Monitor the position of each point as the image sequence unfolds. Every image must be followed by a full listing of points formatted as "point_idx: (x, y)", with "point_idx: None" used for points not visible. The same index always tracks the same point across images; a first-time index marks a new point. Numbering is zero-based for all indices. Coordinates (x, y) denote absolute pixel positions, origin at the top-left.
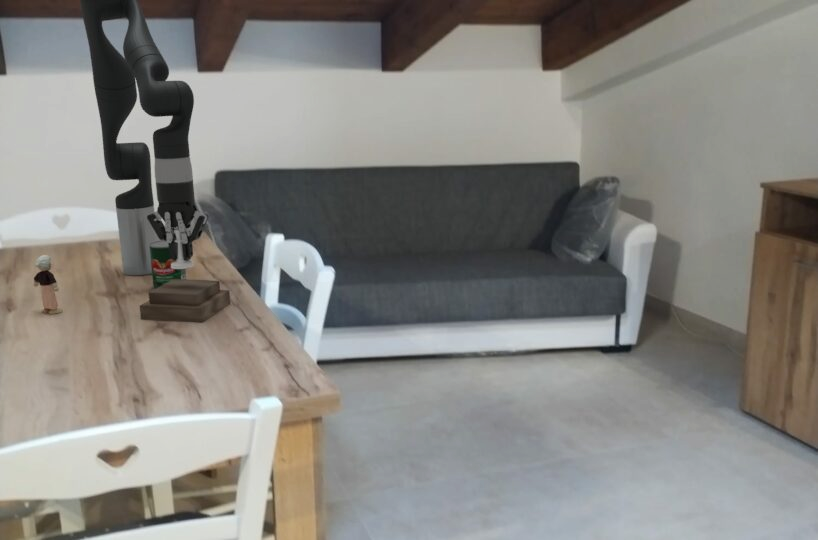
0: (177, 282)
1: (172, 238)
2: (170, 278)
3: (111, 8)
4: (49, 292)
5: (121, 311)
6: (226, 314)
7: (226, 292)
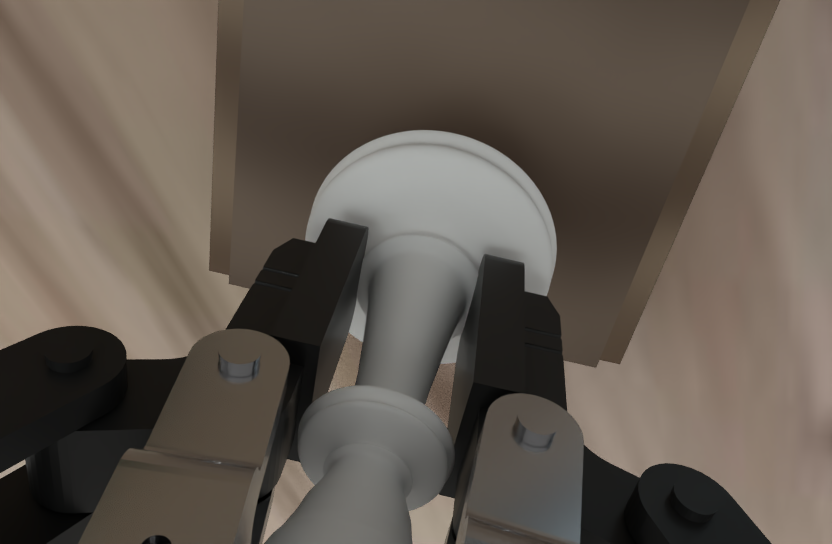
0: (341, 10)
1: (269, 509)
2: None
3: None
4: None
5: (36, 65)
6: (753, 181)
7: None
